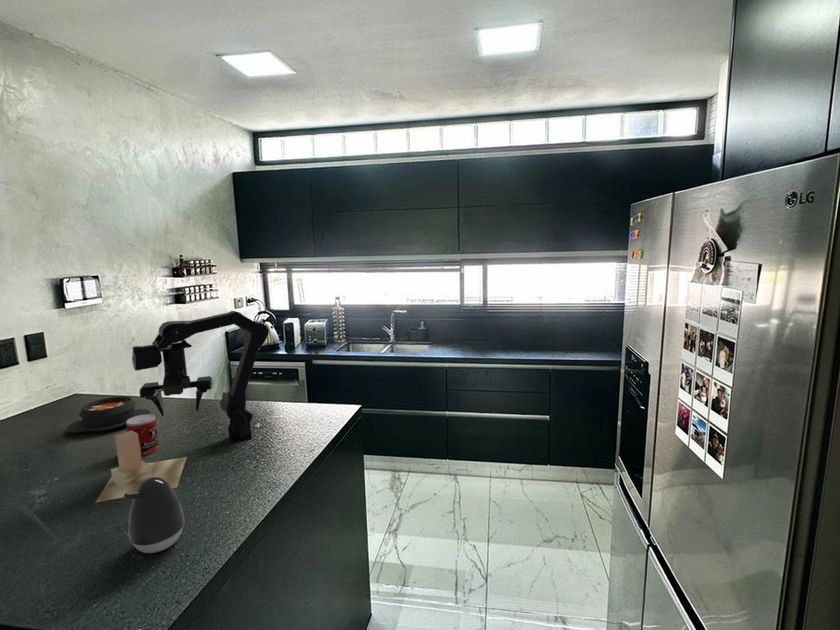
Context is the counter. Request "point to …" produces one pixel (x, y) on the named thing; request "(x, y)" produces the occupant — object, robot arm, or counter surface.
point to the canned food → (145, 432)
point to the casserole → (106, 414)
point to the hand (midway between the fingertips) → (180, 413)
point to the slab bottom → (132, 481)
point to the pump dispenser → (154, 516)
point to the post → (128, 451)
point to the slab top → (131, 472)
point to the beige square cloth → (162, 469)
